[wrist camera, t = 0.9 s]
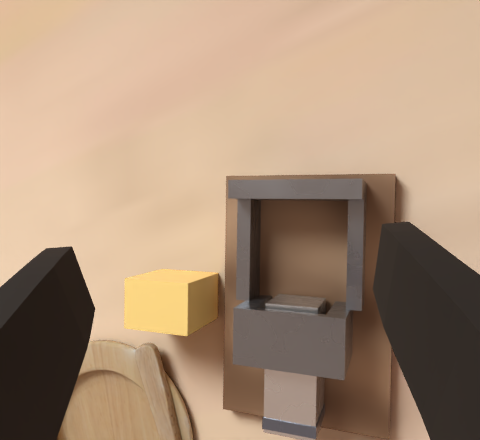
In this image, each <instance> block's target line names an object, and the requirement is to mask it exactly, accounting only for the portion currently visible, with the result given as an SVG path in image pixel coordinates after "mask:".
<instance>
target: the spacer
mask: <svg viewBox="0 0 480 440" xmlns="http://www.w3.org/2000/svg"><path fill="white" fill-rule="evenodd" d="M217 318H218V273H213V272H198V271H184V270H170V269H161V270H157V271H153V272H149V273H145V274H141V275H137V276H133V277H129V278H125V311H124V328H126V329H134V330H142V331H150V332H158V333H166V334H174V335H182V336H189V335H190V334H192V333H194V332H195V331H197V330H199V329H200V328H202V327H204V326H205V325H207V324H208V323H210V322H212V321H213V320H215V319H217Z"/></svg>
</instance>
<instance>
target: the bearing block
mask: <svg viewBox="0 0 480 440" xmlns="http://www.w3.org/2000/svg"><path fill="white" fill-rule="evenodd" d="M271 299H272V296H270V295H258V296H257V297H255V298H253V299H252V300H250V301H244V302H243V303H241V304H239V305H238V306H236V307H234V308H233V364H235V365H242V366H248V367H255V368H262V369H269V370H276V371H283V372H290V373H297V374H304V375H310V376H317V377H324V378H331V379H338V380H345V377H346V374H347V370H348V367H349V364H350V361H351V357H352V343H353V310H346V302H340V301H335V303H334V304H333V306H332V307H331V309H330V310H329V312H328V313H327V314H326V315H325V314H315V313H304V312H294V311H283V310H273V309H266V303H267V302H268V301H270V300H271Z"/></svg>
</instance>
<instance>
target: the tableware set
mask: <svg viewBox="0 0 480 440" xmlns="http://www.w3.org/2000/svg"><path fill="white" fill-rule="evenodd" d="M57 440H193V433H192V428H191V423H190V419H189V415H188V412H187V409H186V406H185V403H184V401H183V399H182V397H181V395H180V393H179V392H178V390H177V388H176V387H175V385H174V384H173V382H172V380H171V379H170V378H169V376H168V375H167V374H166V373H165V371H164V369H163V364H162V361H161V357H160V353H159V350H158V348H157V346H156V345H154V344H153V343H145V344H143V345H141V346H139V347H138V348H134V347H132V346H129V345H127V344H124V343H120V342H116V341H111V340H98V341H90V342H89V343H88V348H87V351H86V354H85V357H84V360H83V363H82V366H81V369H80V372H79V375H78V378H77V381H76V384H75V387H74V390H73V393H72V396H71V399H70V402H69V405H68V408H67V410H66V413H65V416H64V419H63V422H62V425H61V428H60V431H59V434H58V437H57Z"/></svg>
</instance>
